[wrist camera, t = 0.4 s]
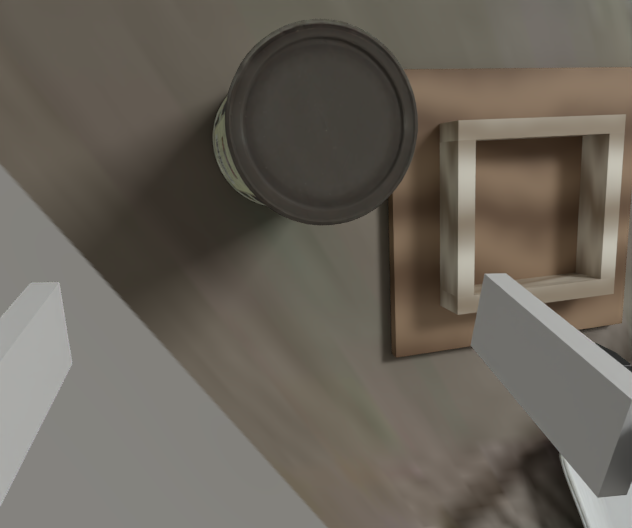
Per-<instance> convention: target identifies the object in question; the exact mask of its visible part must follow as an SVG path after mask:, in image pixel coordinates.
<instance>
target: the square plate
mask: <svg viewBox="0 0 632 528" xmlns="http://www.w3.org/2000/svg"><path fill="white" fill-rule="evenodd" d="M559 458H560V462H561V466H562V469H563V472H564V475H565V478H566V481H567V484H568V486H569V489H570V491H571V494H572V497H573V499H574V502H575V505H576V507H577V510H578V512H579V515H580V518H581V521H582V523H583V526H584V528H632V483H631V485H630V488H629V490H628V493H627V495H621V496H611V497H601V498H597V497H596V495H595V494H594V493H593V492H592V491H591V489H590V488H589V487H588V486H587V485H586V483H585V482H584V481H583V480H582V479H581V477H580V476H579V475H578V474H577V473H576V471H575V470H574V469H573V468H572V467H571V465H570V464H569V463H568V462H567V461H566V459H565V458H564V457H563V456H562V455H561V453H559Z"/></svg>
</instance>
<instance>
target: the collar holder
mask: <svg viewBox="0 0 632 528" xmlns="http://www.w3.org/2000/svg"><path fill="white" fill-rule="evenodd" d="M404 71H405V73H406V75H407V77H408V79H409V82H410V84H411V87H412V90H413V93H414V97H415V101H416V106H417V114H418V134H417V141H416V146H415V151H414V155H413V158H412V161H411V163H410V166H409V168H408V170H407V172H406V174H405V176H404V178H403V180H402V181H401V183H400V184H399V185H398V187H397V188H396V189H395V191H394V192H393V193H392V194H391V195H390V196H389V197H388V210H389V252H390V295H391V337H392V354H393V355H394V356H395V357H396V358H397V357H404V356H410V355H417V354H423V353H430V352H436V351H443V350H449V349H456V348H462V347H469V346H471V340H472V335H473V330H474V325H475V320H476V315H477V310H478V304H479V299H480V294H481V289H482V284H483V279H484V274H492V273H506V274H507V275H509V276H510V277H511V278H513V279H514V280H515V281H516V282H518V283H519V284H520V285H521V286H523V287H524V288H525V289H526V290H528V291H529V292H530V293H532V294H533V295H534V296H535V297H537V298H538V299H539V300H540V301H542V302H543V303H544V304H546V305H547V306H548V307H549V308H551V309H552V310H553V311H554V312H556V313H557V314H558V315H560V316H561V317H562V318H563V319H565V320H566V321H567V322H568V323H570V324H571V325H572V326H574V327H575V328H576V329H577V330H580V329H587V328H593V327H600V326H606V325H613V324H620V323H622V313H623V300H624V286H625V272H626V258H627V245H628V231H629V217H630V204H631V190H632V67H599V68H495V69H404Z"/></svg>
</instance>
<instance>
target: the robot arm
mask: <svg viewBox="0 0 632 528" xmlns="http://www.w3.org/2000/svg"><path fill="white" fill-rule="evenodd" d="M471 347H472V348H473V349H474V350H475V351H476V353H477V354H478V355H479V356H480V357H481V359H482V360H483V361H484V362H485V363H486V365H487V366H488V367H489V368H490V369H491V371H492V372H493V373H494V374H495V375H496V377H497V378H498V379H499V380H500V381H501V383H502V384H503V385H504V386H505V387H506V389H507V390H508V391H509V392H510V393H511V395H512V396H513V397H514V398H515V399H516V401H517V402H518V403H519V404H520V405H521V407H522V408H523V409H524V410H525V411H526V413H527V414H528V415H529V416H530V417H531V419H532V420H533V421H534V422H535V423H536V425H537V426H538V427H539V428H540V429H541V431H542V432H543V433H544V434H545V435H546V437H547V438H548V439H549V440H550V441H551V443H552V444H553V445H554V446H555V447H556V449H557V450H558V451H559V452H560V453H561V455H562V456H563V457H564V458H565V459H566V461H567V462H568V463H569V464H570V465H571V467H572V468H573V469H574V470H575V471H576V473H577V474H578V475H579V476H580V477H581V479H582V480H583V481H584V482H585V483H586V485H587V486H588V487H589V488H590V489H591V491H592V492H593V493H594V494H595V495H596V497H597V498H601V497H611V496H621V495H627V493H628V490H629V488H630V485H631V483H632V366H630V363H628V362H627V361H626V360H625V359H623V358H622V357H621V356H619V355H618V354H617V353H615V352H613V351H611V350H609V349H607V348H605V347H603V346H601V345H599V344H597V343H594V342H593V341H591V340H590V339H589V338H587V337H586V336H585V335H584V334H582V333H581V332H580V331H579V330H577V329H576V328H575V327H574V326H572V325H571V324H570V323H568V322H567V321H566V320H565V319H563V318H562V317H561V316H560V315H558V314H557V313H556V312H554V311H553V310H552V309H551V308H549V307H548V306H547V305H546V304H544V303H543V302H542V301H540V300H539V299H538V298H537V297H535V296H534V295H533V294H532V293H530V292H529V291H528V290H526V289H525V288H524V287H523V286H521V285H520V284H519V283H518V282H516V281H515V280H514V279H513V278H511V277H510V276H509V275H507V274H506V273H492V274H484V279H483V284H482V289H481V294H480V299H479V304H478V310H477V315H476V320H475V325H474V330H473V335H472V340H471ZM71 365H72V358H71V352H70V345H69V339H68V332H67V327H66V320H65V314H64V307H63V301H62V294H61V288H60V282H31V283H30V284H29V285H28V286H27V287H26V288H25V290H24V291H23V292H22V293H21V294H20V295H19V297H18V298H17V299H16V300H15V301H14V302H13V304H12V305H11V306H10V307H9V308H8V309H7V311H6V312H5V313H4V314H3V315H2V316H1V317H0V506H1V504H2V502H3V500H4V498H5V496H6V494H7V492H8V490H9V488H10V486H11V484H12V482H13V480H14V478H15V476H16V474H17V472H18V470H19V468H20V466H21V464H22V462H23V460H24V458H25V456H26V454H27V452H28V451H29V449H30V447H31V445H32V443H33V441H34V439H35V437H36V435H37V433H38V430H39V429H40V427H41V425H42V423H43V421H44V419H45V417H46V415H47V413H48V411H49V409H50V407H51V405H52V403H53V401H54V399H55V397H56V395H57V393H58V391H59V389H60V387H61V385H62V383H63V381H64V379H65V377H66V375H67V373H68V371H69V369H70V367H71Z"/></svg>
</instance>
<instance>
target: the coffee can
mask: <svg viewBox="0 0 632 528" xmlns="http://www.w3.org/2000/svg"><path fill="white" fill-rule="evenodd" d="M417 134H418V114H417V106H416V101H415V97H414V93H413V90H412V87H411V84H410V82H409V79H408V77H407V75H406V73H405V71H404V69H403V68H402V66H401V65H400V63H399V62H398V60H397V59H396V57H395V56H394V55H393V54H392V52H391V51H390V50H389V49H388V48H387V47H386V46H385V45H384V44H383V43H381V42H380V41H379V40H378V39H377V38H375V37H374V36H372V35H371V34H369V33H368V32H366V31H364V30H362V29H360V28H358V27H356V26H353V25H351V24H348V23H345V22H341V21H336V20H329V19H310V20H303V21H298V22H294V23H291V24H288V25H286V26H283V27H281V28H279V29H277V30H276V31H274V32H272V33H270V34H269V35H268V36H266V37H265V38H264V39H262V40H261V41H260V42H259V43H258V44H256V45H255V46H254V47H253V48H252V50H251V51H250V52H249V53H248V54H247V55H246V57H245V58H244V59H243V61H242V62H241V64H240V66H239V68H238V70H237V72H236V74H235V76H234V78H233V81H232V83H231V86H230V89H229V92H228V95H227V97H226V99H225V100H224V101H223V103H222V104H221V106H220V108H219V110H218V112H217V115H216V118H215V122H214V128H213V148H214V153H215V157H216V160H217V163H218V165H219V168H220V170H221V172H222V173H223V175H224V177H225V178H226V180H227V181H228V182H229V183H230V185H231V186H232V187H233V188H234V189H235V190H236V191H237V192H239V193H240V194H241V195H243V196H244V197H246V198H248V199H249V200H251V201H254V202H256V203H259V204H262V205H266V206H267V207H269V208H270V209H272V210H273V211H275V212H277V213H278V214H280V215H282V216H284V217H286V218H289V219H291V220H294V221H297V222H301V223H305V224H312V225H333V224H341V223H345V222H349V221H352V220H355V219H358V218H360V217H362V216H364V215H366V214H368V213H369V212H371V211H373V210H374V209H376V208H377V207H378V206H379V205H381V204H382V203H383V202H384V201H385V200H386V199H387V198H388V197H389V196H390V195H391V194H392V193H393V192H394V191H395V189H396V188H397V187H398V185H399V184H400V183H401V181H402V180H403V178H404V176H405V174H406V172H407V170H408V168H409V166H410V163H411V161H412V158H413V155H414V151H415V146H416V141H417Z"/></svg>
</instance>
